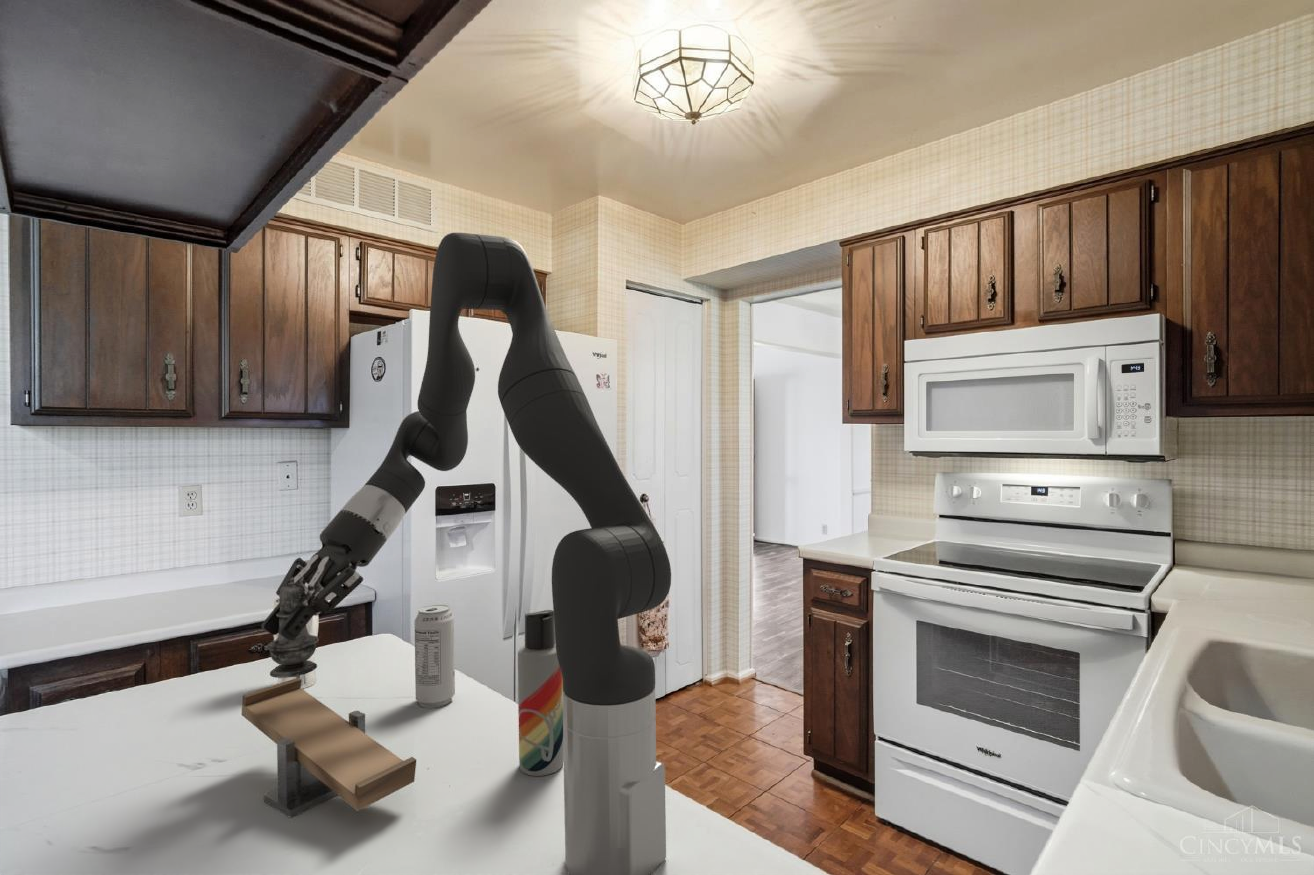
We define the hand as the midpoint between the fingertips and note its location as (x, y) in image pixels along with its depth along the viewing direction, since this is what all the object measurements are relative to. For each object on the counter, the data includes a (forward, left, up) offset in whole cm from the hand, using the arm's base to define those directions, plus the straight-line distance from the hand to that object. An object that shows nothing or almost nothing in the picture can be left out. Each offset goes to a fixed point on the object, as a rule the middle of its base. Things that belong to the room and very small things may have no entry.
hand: (276, 633), depth 81 cm
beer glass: (+30, -18, -18) cm, 39 cm away
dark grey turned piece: (0, -2, -5) cm, 6 cm away
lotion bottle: (-26, -20, -18) cm, 38 cm away
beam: (-7, -2, -13) cm, 15 cm away
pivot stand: (-7, -2, -18) cm, 20 cm away
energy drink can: (+3, -26, -18) cm, 32 cm away
